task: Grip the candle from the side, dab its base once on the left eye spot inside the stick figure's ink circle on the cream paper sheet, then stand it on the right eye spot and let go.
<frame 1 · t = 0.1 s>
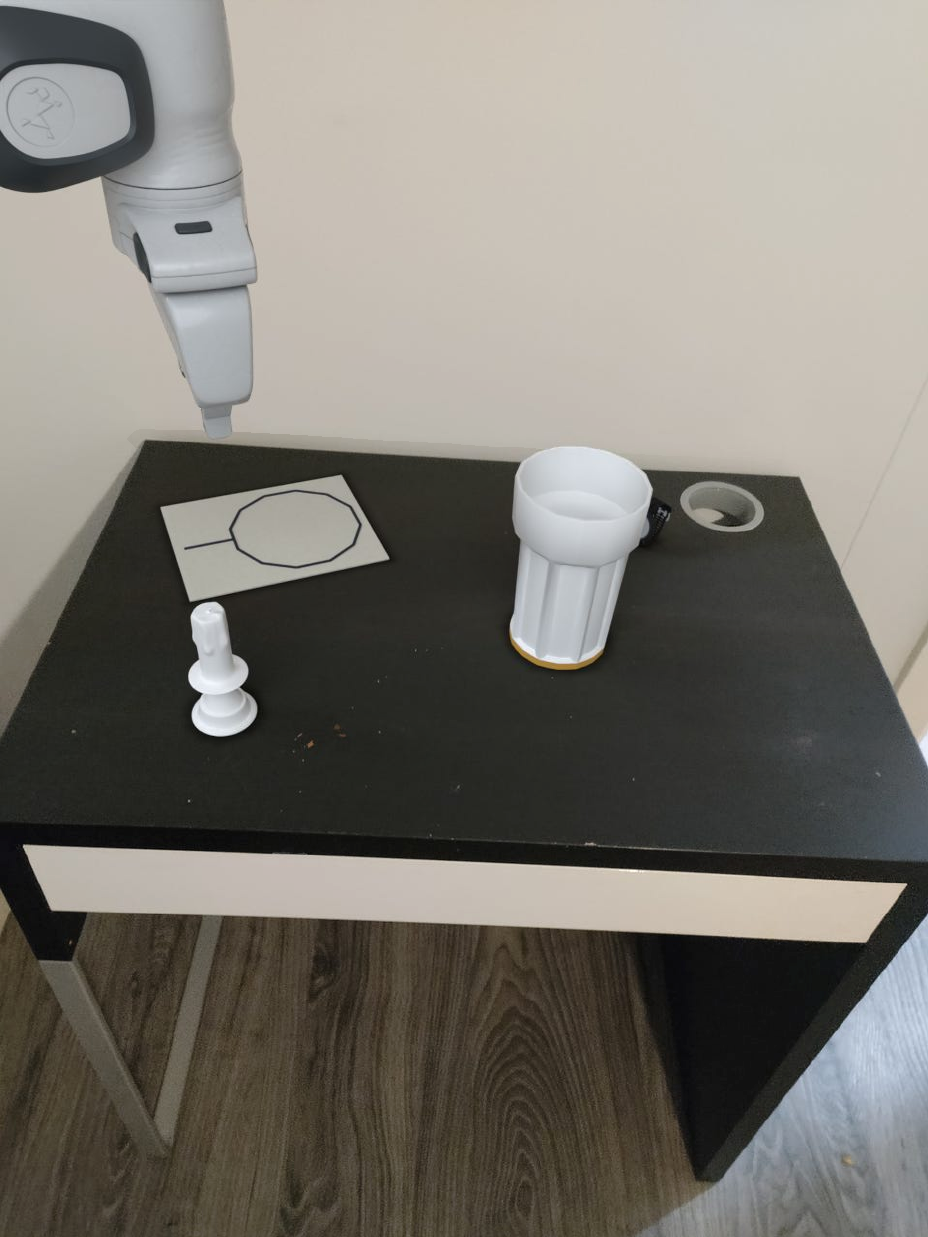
hand: (204, 402, 70), 23 cm above the table, tool pointing down, fingers open, 8 cm apart
smartwatch: (646, 543, 100), on the table
sketch sheet: (272, 533, 97), on the table
candle: (225, 714, 78), on the table
cup: (556, 638, 88), on the table
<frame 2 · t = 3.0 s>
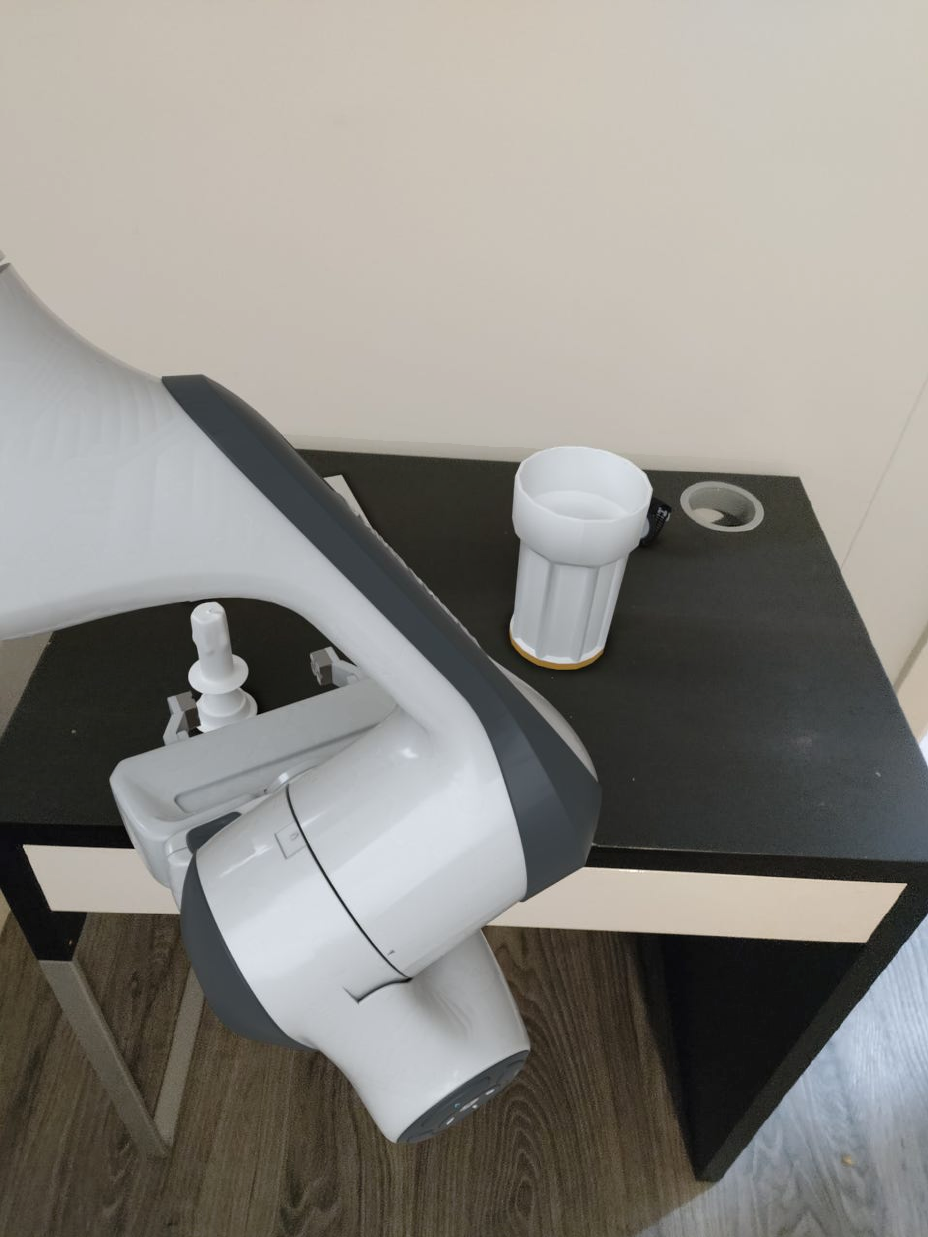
hand: (252, 678, 60), 15 cm above the table, tool horizontal, fingers open, 8 cm apart
nothing on the table moved.
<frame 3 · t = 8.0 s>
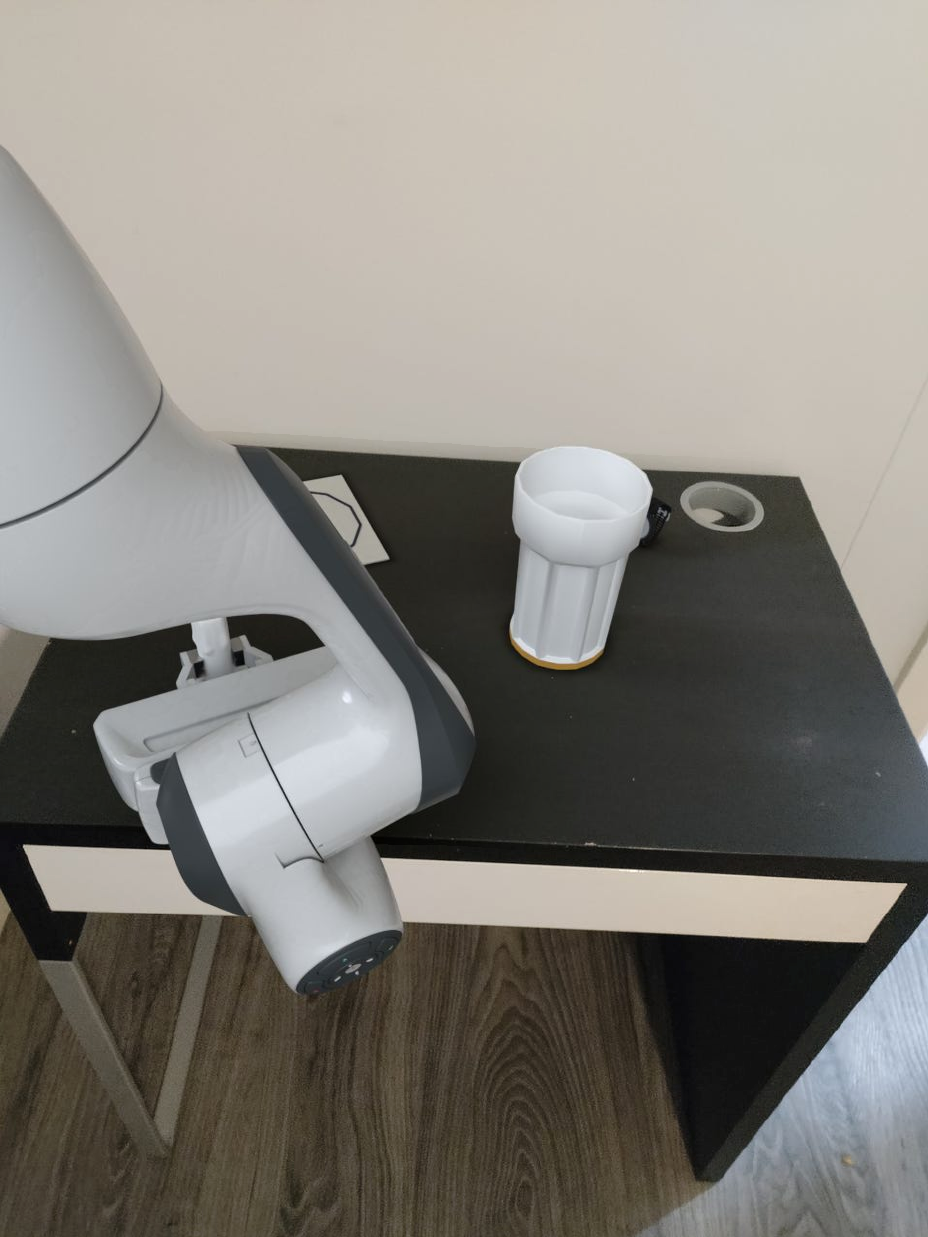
hand: (212, 649, 74), 7 cm above the table, tool horizontal, fingers closed on candle, 2 cm apart
candle: (225, 714, 78), on the table, touching gripper
everything else where it was.
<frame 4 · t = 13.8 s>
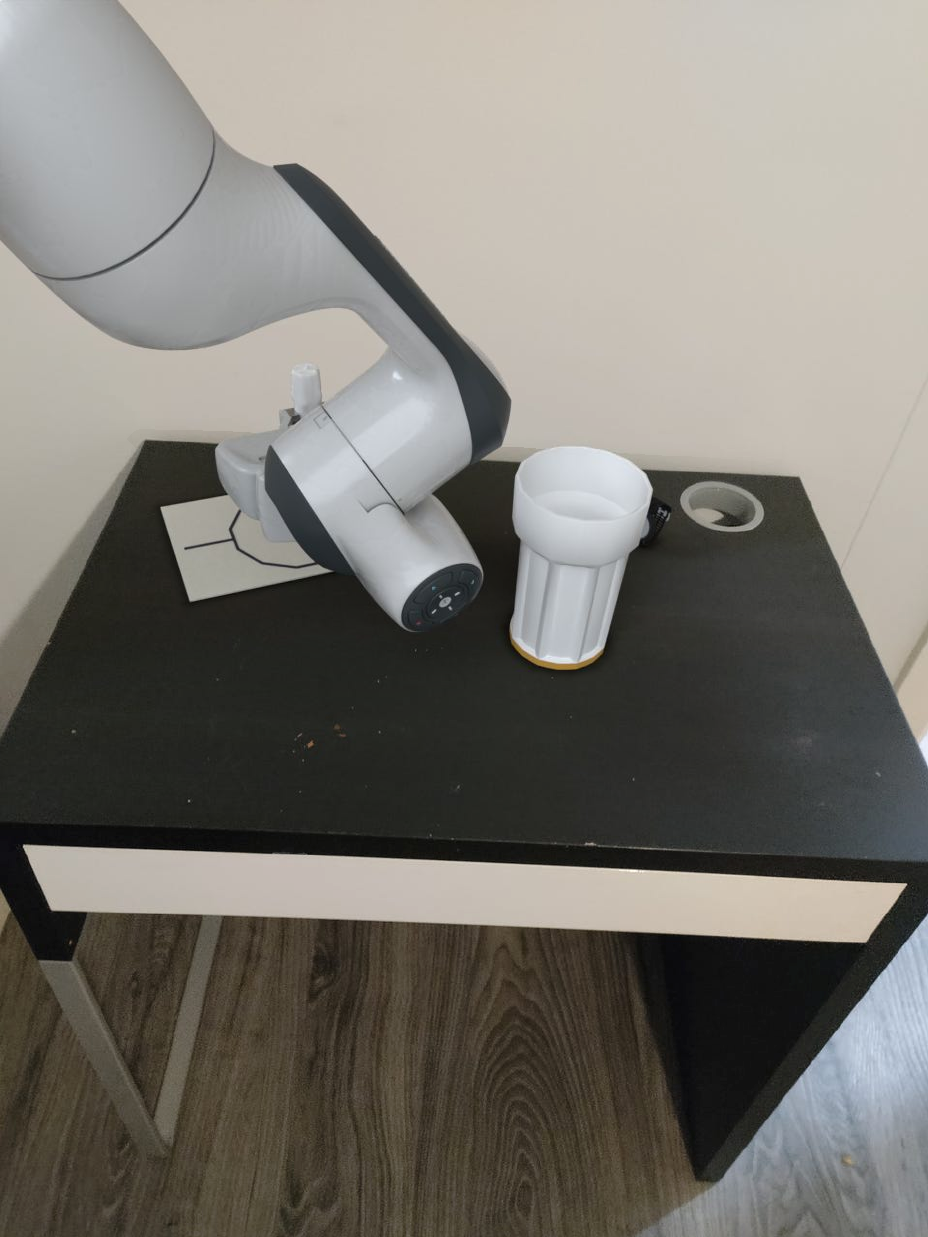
hand: (305, 411, 87), 15 cm above the table, tool horizontal, fingers closed on candle, 2 cm apart
candle: (312, 478, 91), point 8 cm above the table, touching gripper
everything else where it was.
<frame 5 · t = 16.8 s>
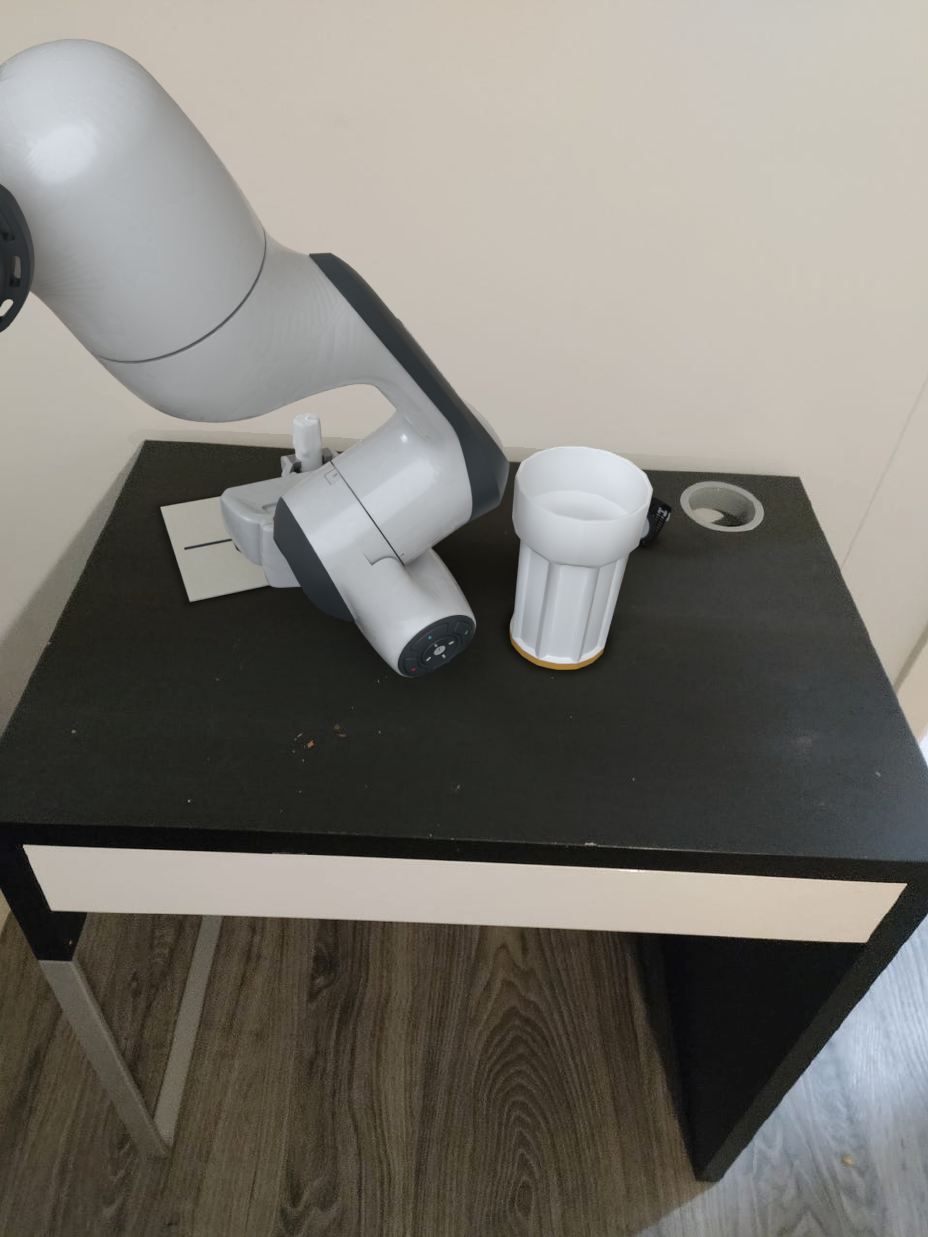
hand: (306, 457, 91), 9 cm above the table, tool horizontal, fingers closed on candle, 2 cm apart
candle: (312, 519, 95), point 2 cm above the table, touching gripper
everything else where it was.
when the fingers open (7 cm above the table, at t = 19.6 s): candle stays where it is, resting on sketch sheet.
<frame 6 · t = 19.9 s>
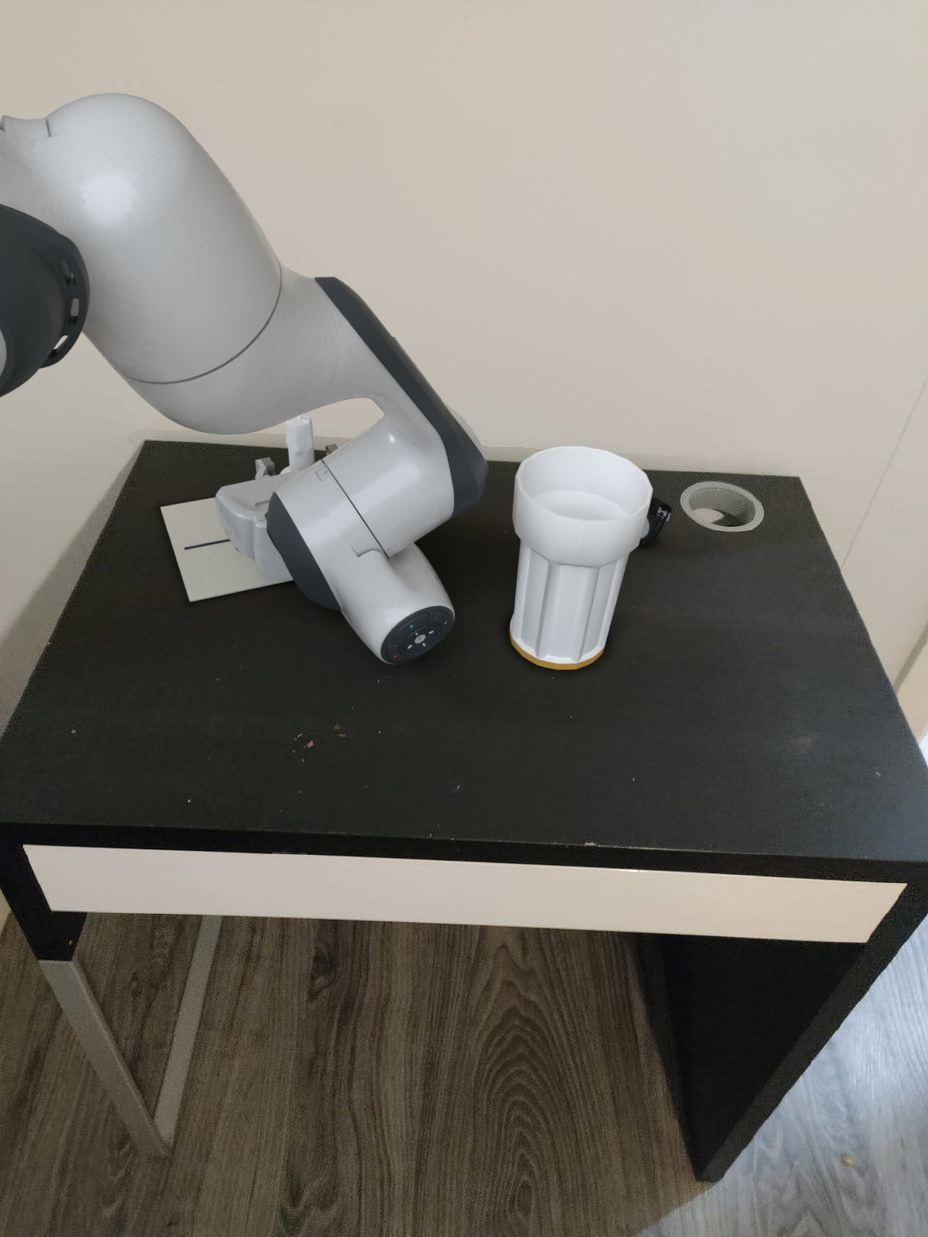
hand: (297, 456, 96), 7 cm above the table, tool horizontal, fingers open, 6 cm apart
candle: (305, 515, 99), resting on sketch sheet
everything else where it was.
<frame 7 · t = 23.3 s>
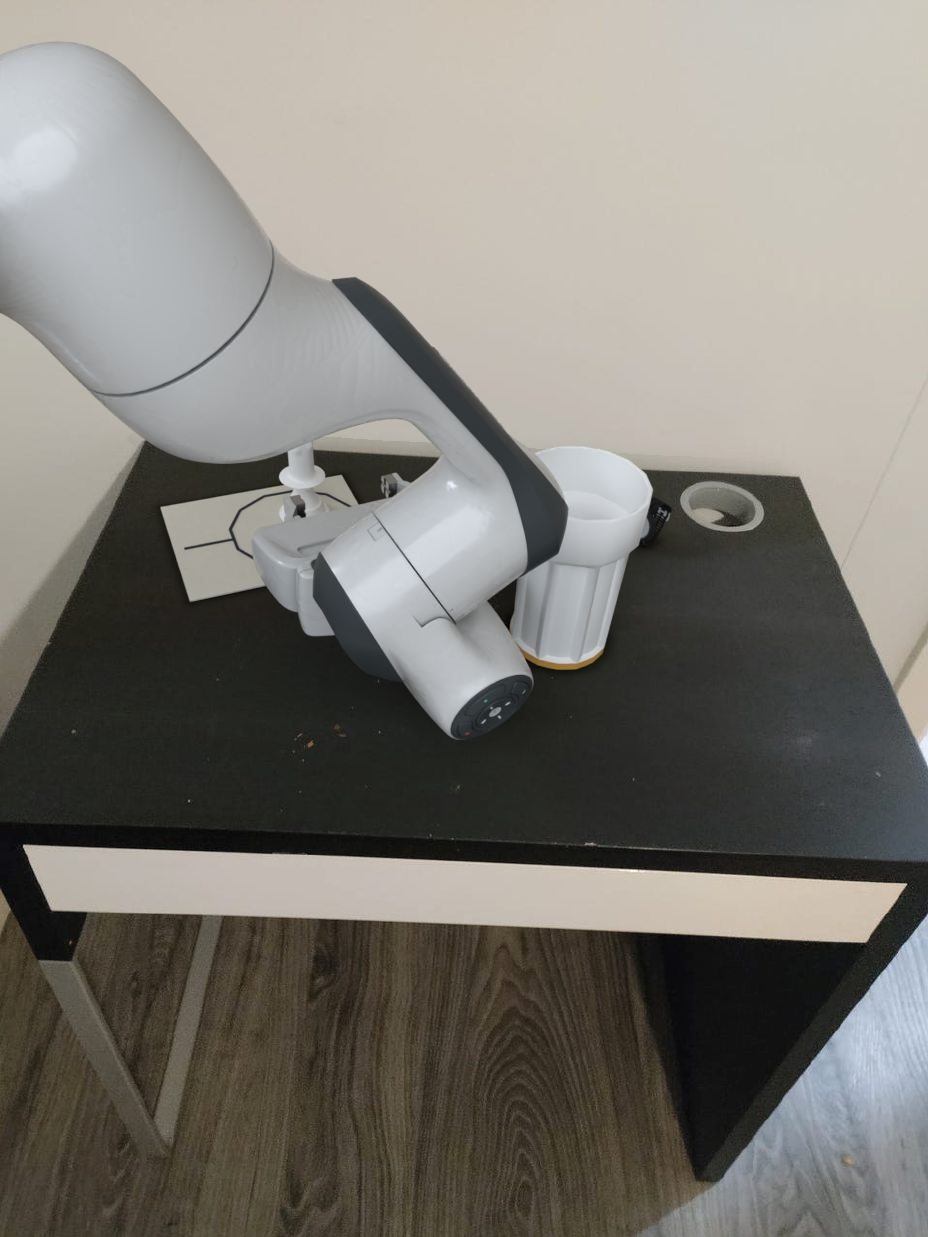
hand: (340, 490, 85), 10 cm above the table, tool horizontal, fingers open, 8 cm apart
nothing on the table moved.
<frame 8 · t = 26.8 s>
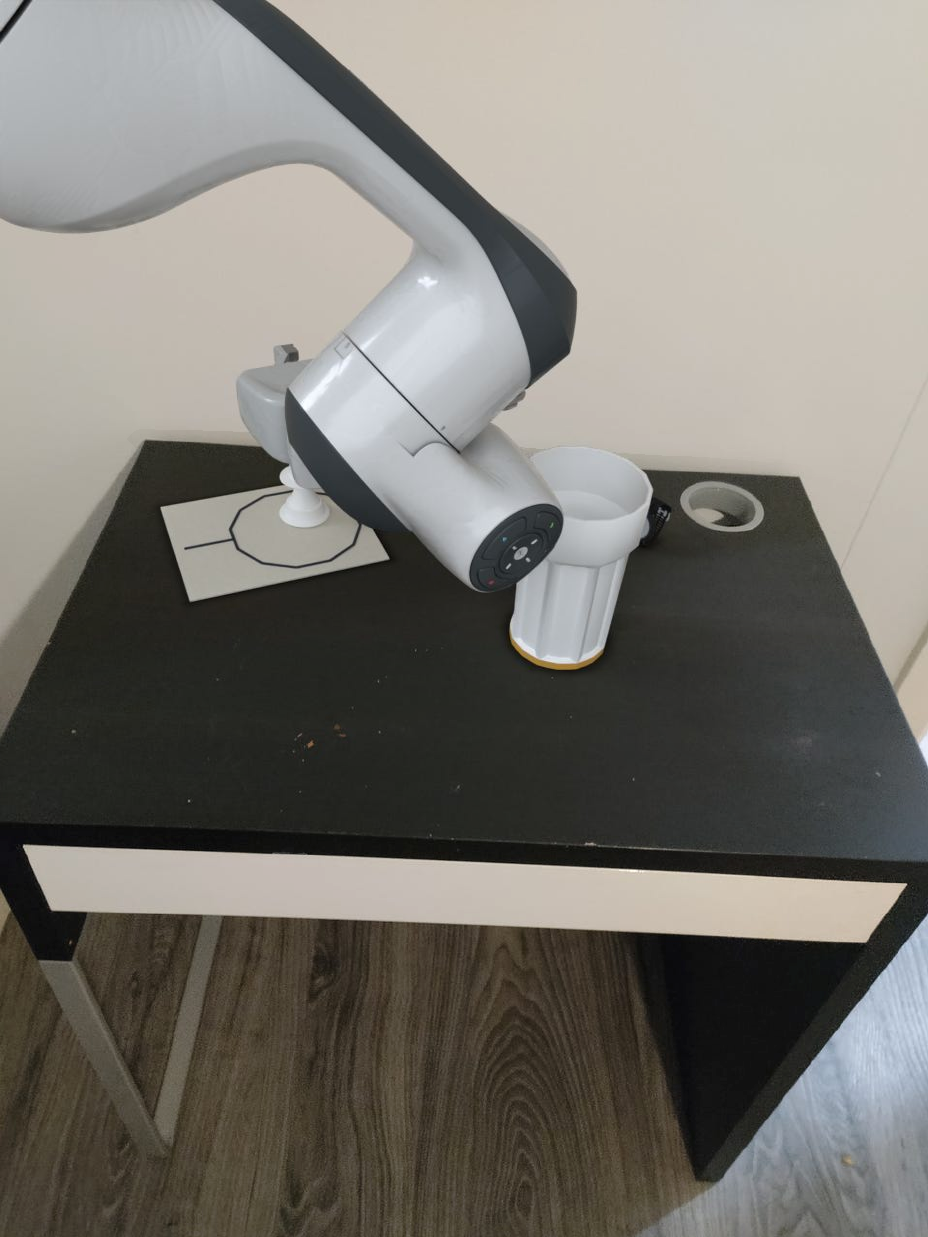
hand: (338, 343, 75), 25 cm above the table, tool horizontal, fingers open, 8 cm apart
nothing on the table moved.
at the end: candle 0.1 cm from the target spot on the sketch sheet, point 0.0 cm above the sketch sheet's base; candle tilted 0°; the gripper is holding nothing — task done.
